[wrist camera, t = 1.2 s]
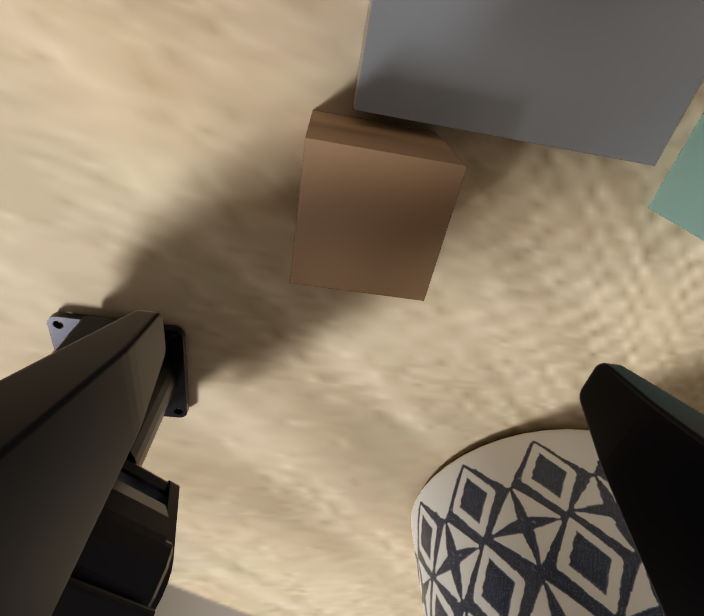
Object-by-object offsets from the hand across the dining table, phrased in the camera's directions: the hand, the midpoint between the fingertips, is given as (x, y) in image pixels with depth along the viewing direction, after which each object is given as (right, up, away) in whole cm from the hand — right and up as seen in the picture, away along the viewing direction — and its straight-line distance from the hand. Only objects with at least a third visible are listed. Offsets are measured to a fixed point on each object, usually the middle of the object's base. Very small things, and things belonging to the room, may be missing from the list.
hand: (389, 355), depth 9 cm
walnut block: (0, +6, +10) cm, 12 cm away
